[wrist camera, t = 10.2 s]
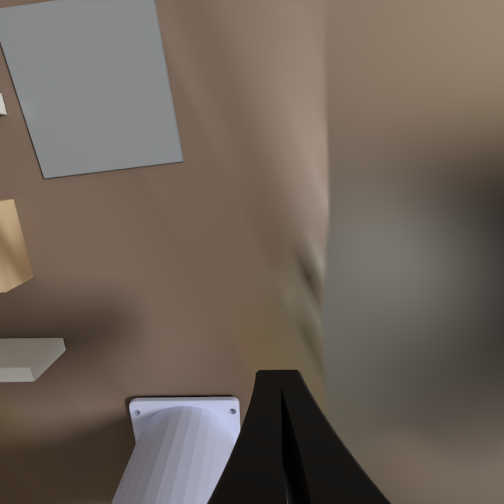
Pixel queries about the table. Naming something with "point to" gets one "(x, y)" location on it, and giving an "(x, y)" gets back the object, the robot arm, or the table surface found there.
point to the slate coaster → (92, 84)
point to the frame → (27, 348)
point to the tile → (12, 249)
